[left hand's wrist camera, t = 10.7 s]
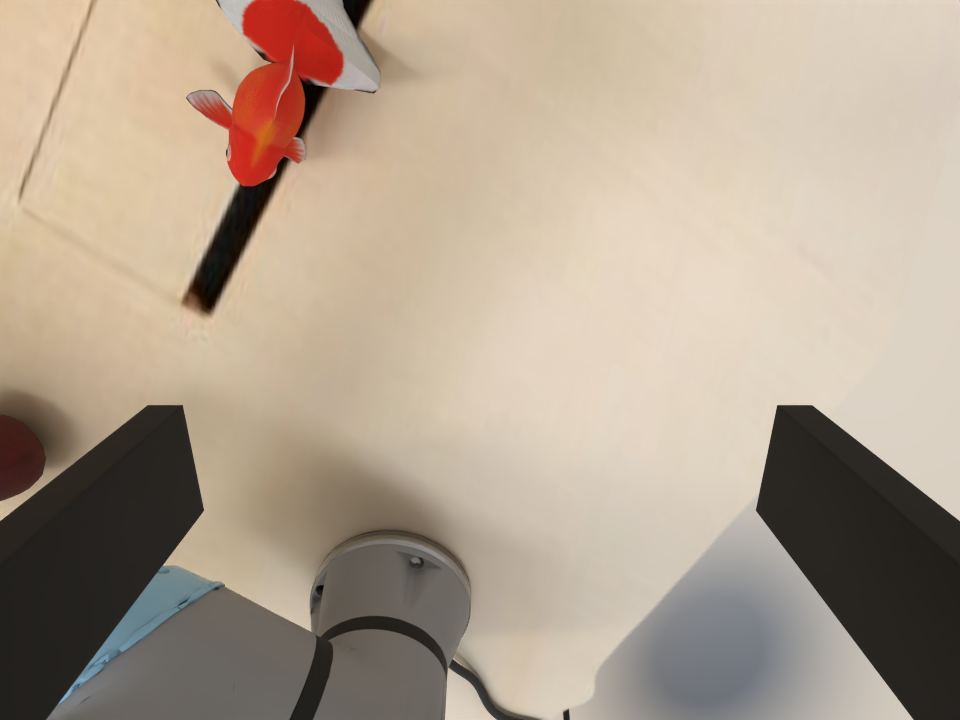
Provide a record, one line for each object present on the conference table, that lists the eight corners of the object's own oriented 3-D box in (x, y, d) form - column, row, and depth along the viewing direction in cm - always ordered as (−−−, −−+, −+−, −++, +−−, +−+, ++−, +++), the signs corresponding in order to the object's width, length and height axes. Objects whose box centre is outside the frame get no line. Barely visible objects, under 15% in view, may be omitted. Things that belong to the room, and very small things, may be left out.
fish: (115, 97, 36) (113, 62, 28) (265, -77, 38) (305, -159, 30) (260, 212, 42) (295, 211, 34) (383, 54, 44) (444, 17, 36)
